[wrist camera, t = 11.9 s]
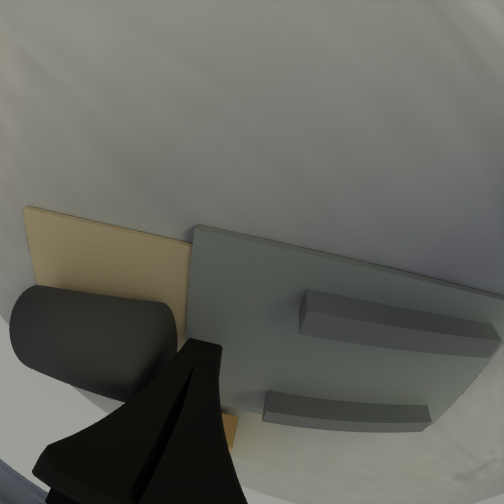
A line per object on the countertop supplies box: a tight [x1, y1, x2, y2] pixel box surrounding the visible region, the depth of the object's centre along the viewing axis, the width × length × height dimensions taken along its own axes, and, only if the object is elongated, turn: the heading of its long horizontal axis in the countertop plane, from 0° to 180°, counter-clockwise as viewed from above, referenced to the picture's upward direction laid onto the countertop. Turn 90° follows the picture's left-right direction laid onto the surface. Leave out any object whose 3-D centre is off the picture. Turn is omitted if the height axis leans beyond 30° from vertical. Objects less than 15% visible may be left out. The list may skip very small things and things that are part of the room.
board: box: [23, 206, 504, 432], centre depth 11 cm, size 24×10×2 cm, turn 80°
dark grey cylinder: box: [9, 285, 178, 403], centre depth 10 cm, size 7×4×4 cm, turn 91°
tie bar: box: [222, 413, 239, 452], centre depth 15 cm, size 2×7×3 cm, turn 170°
